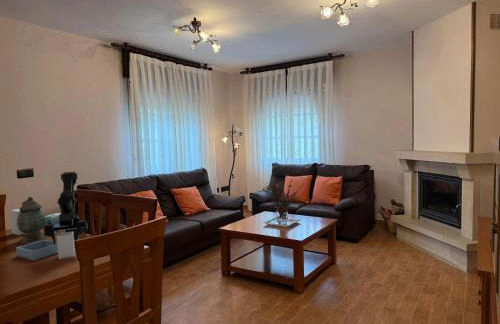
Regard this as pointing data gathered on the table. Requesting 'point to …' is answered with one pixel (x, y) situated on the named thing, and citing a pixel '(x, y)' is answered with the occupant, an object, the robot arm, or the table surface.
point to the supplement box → (15, 222)
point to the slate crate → (37, 250)
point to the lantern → (31, 221)
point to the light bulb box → (53, 220)
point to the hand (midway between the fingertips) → (65, 242)
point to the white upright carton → (66, 245)
